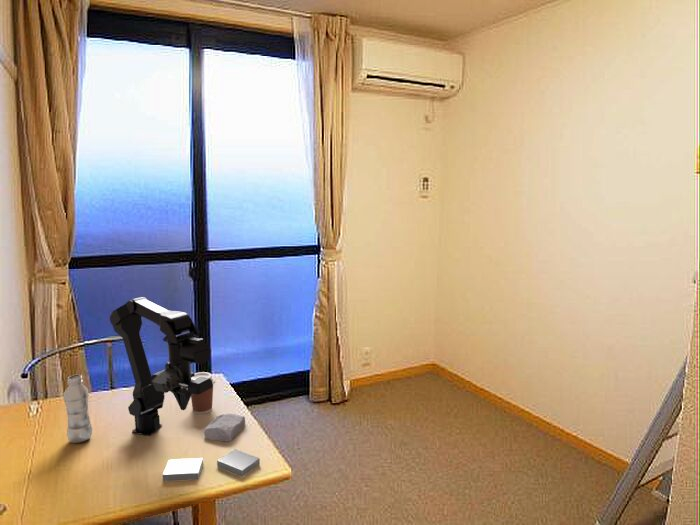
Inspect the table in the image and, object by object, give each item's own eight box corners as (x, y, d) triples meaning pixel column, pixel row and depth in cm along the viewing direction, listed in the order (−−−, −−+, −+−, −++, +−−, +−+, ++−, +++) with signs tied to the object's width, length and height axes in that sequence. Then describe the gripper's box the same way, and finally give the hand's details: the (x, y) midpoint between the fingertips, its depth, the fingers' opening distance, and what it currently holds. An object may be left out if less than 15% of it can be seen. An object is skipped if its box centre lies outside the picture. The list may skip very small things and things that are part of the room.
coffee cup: (204, 401, 177) (203, 368, 175) (221, 408, 172) (220, 375, 170) (182, 410, 170) (181, 377, 168) (200, 418, 164) (198, 383, 162)
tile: (217, 460, 137) (241, 470, 132) (235, 448, 143) (259, 458, 138) (217, 468, 137) (242, 478, 133) (235, 456, 143) (259, 466, 139)
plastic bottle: (96, 439, 150) (91, 376, 147) (72, 448, 146) (66, 383, 142) (88, 432, 155) (83, 370, 151) (64, 440, 150) (58, 377, 146)
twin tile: (162, 483, 131) (162, 474, 130) (169, 467, 138) (169, 459, 137) (198, 481, 132) (198, 472, 131) (203, 466, 138) (202, 458, 138)
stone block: (202, 445, 152) (232, 442, 150) (199, 430, 152) (229, 427, 149) (220, 427, 164) (248, 424, 161) (217, 413, 163) (245, 410, 161)
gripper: (132, 362, 139) (137, 415, 142) (182, 371, 131) (187, 428, 133) (164, 350, 149) (168, 400, 151) (212, 358, 141) (215, 411, 143)
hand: (183, 409), depth 145 cm, fingers closed
